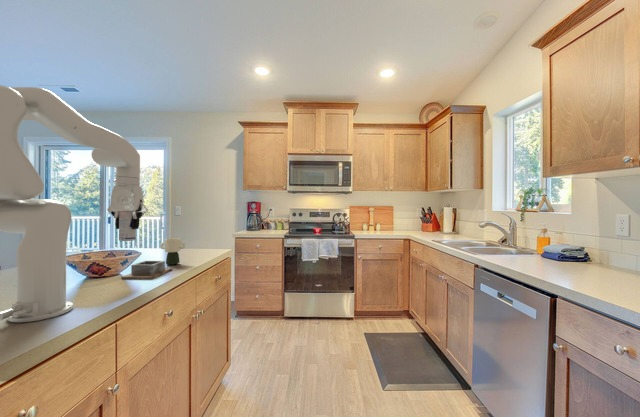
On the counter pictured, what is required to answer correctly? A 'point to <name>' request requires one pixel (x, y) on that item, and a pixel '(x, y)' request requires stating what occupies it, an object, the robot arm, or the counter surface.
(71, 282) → the counter surface
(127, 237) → the energy drink
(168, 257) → the character mug
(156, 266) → the can holder
